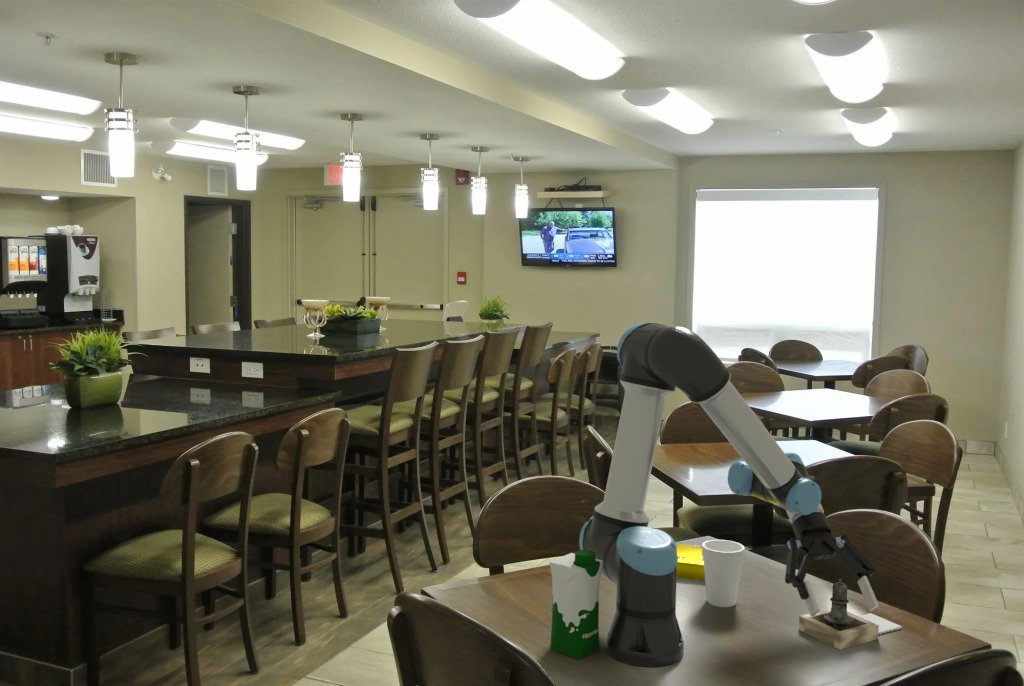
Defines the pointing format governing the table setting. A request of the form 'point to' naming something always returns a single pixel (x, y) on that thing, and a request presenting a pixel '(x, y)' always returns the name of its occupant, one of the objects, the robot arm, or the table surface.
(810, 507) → the robot arm
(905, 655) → the table surface
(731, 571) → the foam cup
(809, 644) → the table surface
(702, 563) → the element tile
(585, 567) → the milk carton
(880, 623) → the white mat
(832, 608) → the dark chess piece
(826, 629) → the wooden square frame
